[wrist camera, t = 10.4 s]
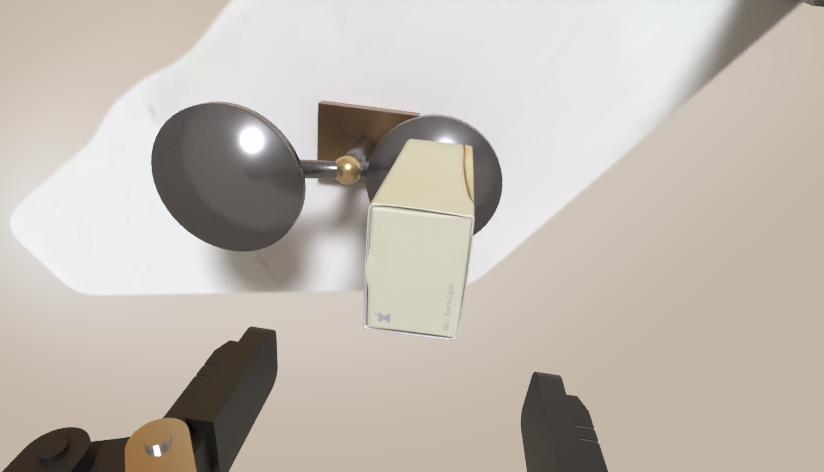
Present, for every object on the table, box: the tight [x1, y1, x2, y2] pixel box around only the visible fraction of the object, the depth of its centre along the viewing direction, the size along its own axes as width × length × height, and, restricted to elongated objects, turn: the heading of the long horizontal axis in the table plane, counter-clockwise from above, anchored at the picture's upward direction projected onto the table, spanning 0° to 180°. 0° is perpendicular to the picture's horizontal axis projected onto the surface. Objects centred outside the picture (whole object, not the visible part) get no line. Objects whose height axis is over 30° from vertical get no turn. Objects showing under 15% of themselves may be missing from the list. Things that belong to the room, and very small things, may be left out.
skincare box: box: [364, 139, 475, 340], centre depth 24 cm, size 6×4×12 cm
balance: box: [151, 101, 502, 251], centre depth 31 cm, size 21×9×13 cm, turn 84°
